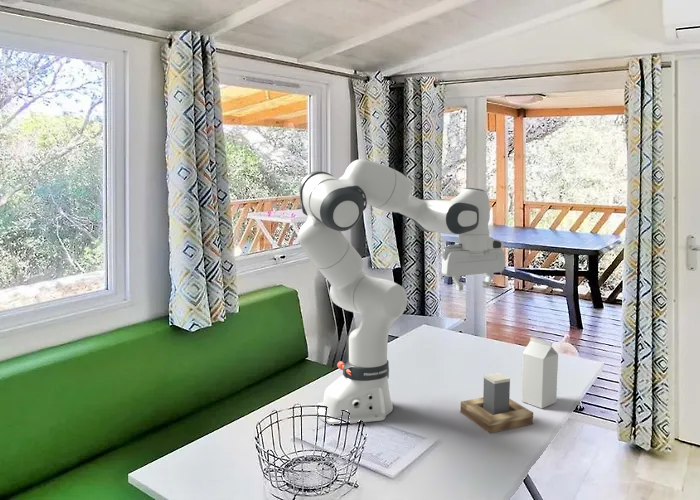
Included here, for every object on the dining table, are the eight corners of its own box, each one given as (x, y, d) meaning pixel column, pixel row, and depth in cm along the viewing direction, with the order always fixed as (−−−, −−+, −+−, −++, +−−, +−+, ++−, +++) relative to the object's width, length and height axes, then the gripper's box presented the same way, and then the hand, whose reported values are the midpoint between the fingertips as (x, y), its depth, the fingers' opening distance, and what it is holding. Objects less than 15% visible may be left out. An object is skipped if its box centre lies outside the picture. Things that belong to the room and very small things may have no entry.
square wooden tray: (489, 433, 150) (489, 421, 150) (460, 412, 163) (460, 401, 163) (532, 423, 155) (533, 412, 155) (501, 404, 168) (501, 393, 168)
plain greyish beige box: (493, 416, 156) (494, 381, 154) (483, 409, 160) (483, 375, 159) (509, 413, 158) (510, 378, 156) (498, 406, 162) (498, 372, 161)
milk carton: (541, 409, 165) (544, 345, 162) (521, 401, 170) (523, 339, 167) (556, 403, 169) (558, 340, 166) (535, 395, 174) (537, 335, 172)
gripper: (448, 246, 163) (448, 294, 165) (508, 242, 170) (507, 287, 172) (437, 243, 168) (437, 289, 170) (495, 239, 176) (494, 283, 178)
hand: (472, 288), depth 171 cm, fingers open, 8 cm apart
